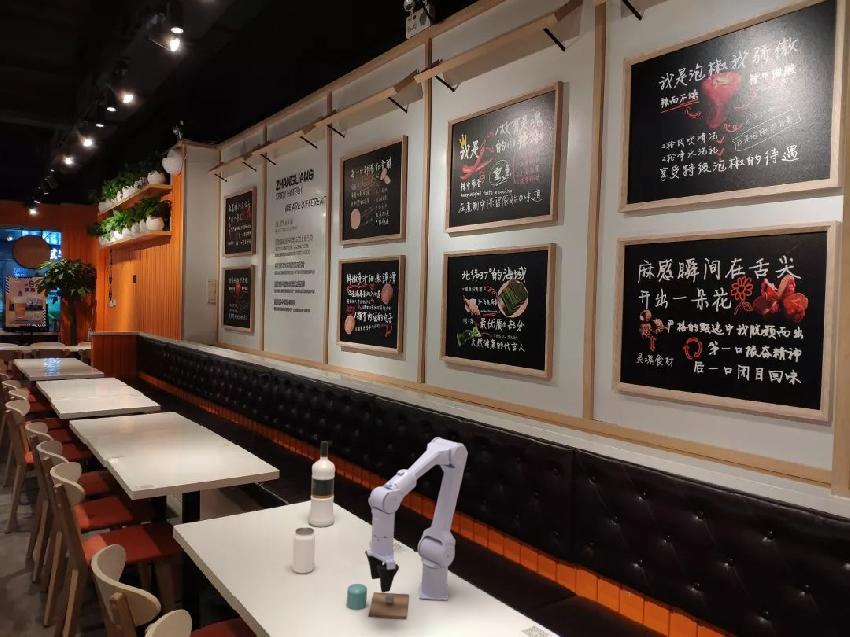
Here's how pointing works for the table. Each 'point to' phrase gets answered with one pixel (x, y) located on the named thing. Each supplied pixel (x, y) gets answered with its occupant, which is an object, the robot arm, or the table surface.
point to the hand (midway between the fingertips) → (380, 584)
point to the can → (303, 550)
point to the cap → (356, 596)
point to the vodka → (322, 490)
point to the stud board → (389, 605)
